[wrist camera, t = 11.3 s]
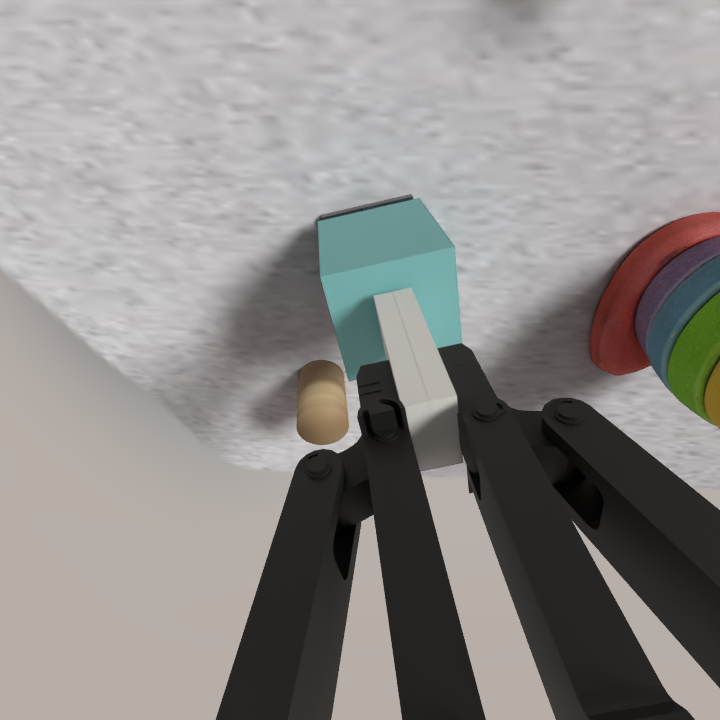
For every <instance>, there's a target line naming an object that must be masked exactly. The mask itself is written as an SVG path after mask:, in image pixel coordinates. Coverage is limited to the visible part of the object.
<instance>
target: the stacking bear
mask: <svg viewBox="0 0 720 720" xmlns="http://www.w3.org/2000/svg"><path fill="white" fill-rule="evenodd" d="M590 350H591V357H592V361H593V363H594V364H595V365H596V366H597V367H598V368H600V369H601V370H604V371H608V372H609V373H611V374H613V375H624V374H628V373H633V372H637V371H639V370H642V369H644V368H646V367H648V366H652V367H653V369H654V370H655V372H656V374H657V375H658V376H659V378H660V379H661V381H662V382H663V383H664V385H665V386H666V387H667V388H668V389H669V391H670V392H671V393H673V394H674V395H675V396H676V398H677V399H678V400H679V401H680V402H681V403H683V404H684V405H685V406H686V407H688V408H689V409H690V410H691V411H693V412H694V413H696V414H697V415H698V416H700V417H701V418H703V419H704V420H706V421H708V422H709V423H711V424H713V425H715V426H717V427H719V428H720V213H719V212H709V213H701V214H696V215H692V216H688V217H685V218H683V219H680V220H678V221H675V222H673V223H671V224H669V225H667V226H665V227H663V228H662V229H660V230H658V231H657V232H655V233H654V234H652V235H651V236H650V237H648V238H647V239H646V240H644V241H643V242H642V243H641V244H640V245H639V246H638V247H637V248H636V249H635V250H633V251H632V253H631V254H630V255H629V256H628V257H627V258H626V260H625V261H624V262H623V263H622V265H621V266H620V268H619V269H618V271H617V272H616V274H615V275H614V277H613V278H612V280H611V282H610V283H609V285H608V287H607V289H606V291H605V293H604V295H603V297H602V299H601V301H600V304H599V306H598V309H597V311H596V314H595V318H594V321H593V325H592V331H591V339H590Z"/></svg>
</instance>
